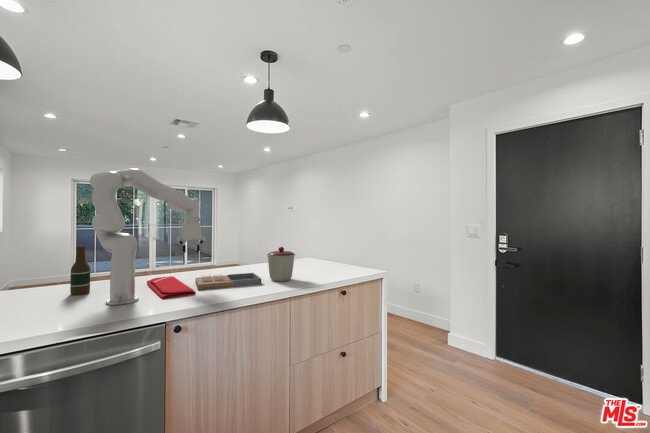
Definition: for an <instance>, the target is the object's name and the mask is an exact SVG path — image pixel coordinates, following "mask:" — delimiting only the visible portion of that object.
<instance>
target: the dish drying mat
mask: <svg viewBox="0 0 650 433" xmlns="http://www.w3.org/2000/svg"><path fill="white" fill-rule="evenodd" d="M146 285H147V286H148V287H149V289H151V290H152V291H153V292H154V293H155V294H156V295H157V296H158V297H159V298H161V299H162V300H168V299H173V298H181V296H182V297H186V296H187V297H188V295H189V296H195V295H196V293H197V292H196V291H195V290H194V289H193V288H191V287H190V286H188V285H187V284H185V283H183V282H182V281H181V280H179V279H178V278H176V277H175V276H162V277H161V276H160V277H156V278H151V279H149V280H146Z"/></svg>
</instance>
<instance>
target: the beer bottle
mask: <svg viewBox="0 0 650 433" xmlns="http://www.w3.org/2000/svg"><path fill="white" fill-rule="evenodd" d="M75 249H76V255H75V261H74V262H73V264H72V266H71V269H70V279H69V280H70V282H69V283H70V284H69V285H70V286H69V288H70V289H69V291H70V295H71V296H83V295H86V294H89V293H90V292H91V267H90V264H89V263H88V262H87V260H86V259H87V258H86V245H78V246H77V245H76V247H75Z"/></svg>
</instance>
